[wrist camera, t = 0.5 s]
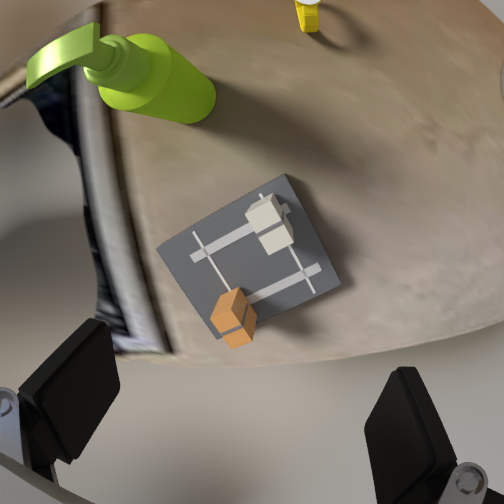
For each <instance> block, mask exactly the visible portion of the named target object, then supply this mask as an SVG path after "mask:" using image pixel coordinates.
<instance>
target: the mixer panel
mask: <svg viewBox="0 0 504 504" xmlns="http://www.w3.org/2000/svg"><path fill="white" fill-rule="evenodd" d="M271 193H274V195H275V197H276V199H277V200H278V202H279V204H280V206H281V208H282V209H283V211H284V213H285V215H286V217H287V218H288V220H289V222H290V224H291V226H292V228H293V238H294V243H292V244H290V245H288V246H286V247H284V248H282V249H280V250H278V251H276V252H274V253H272V254H270V255H268V254H267V252H266V250H265V249H264V247H263V245H262V243H261V242H260V240H259V238H258V237H257V236H256V235H255V234H256V233H255V231H254V230H253V228H252V226H251V224H250V223H249V221H248V219H247V218H246V216H245V213H246V212H247V210H248V209H249V207H250V206H251V204H253V203H255V202H257V201H259V200H260V199H262V198H264V197H266V196H268V195H270V194H271ZM156 250H157V252H158V253H159V255H160V256H161V258H162V260H163V261H164V263H165V264H166V266H167V267H168V269H169V271H170V272H171V274H172V275H173V277H174V278H175V280H176V281H177V283H178V284H179V286H180V287H181V289H182V290H183V292H184V293H185V295H186V296H187V298H188V299H189V301H190V302H191V304H192V305H193V306H194V308H195V309H196V311H197V312H198V314H199V315H200V317H201V318H202V319H203V321H204V322H205V324H206V325H207V326H208V328H209V329H210V331H211V332H212V333H213V335H214V336H215V338H216V339H220V338H222V336H221V335H220V332H219V331H218V330H217V328H216V327H215V325H214V324H213V323H212V321H211V320H210V317H211V315H212V313H213V311H214V308H215V306H216V304H217V302H218V300H219V298H220V295H223V294H225V293H227V292H229V291H231V290H233V289H235V288H237V287H240V289H241V291H242V292H243V294H244V295H245V297H246V299H247V300H248V302H249V303H250V305H251V306H252V308H253V310H254V311H255V313H256V314H257V320H256V323H258V322H261V321H263V320H265V319H268V318H270V317H272V316H275V315H277V314H279V313H281V312H284V311H286V310H288V309H290V308H293V307H295V306H297V305H299V304H301V303H304V302H306V301H308V300H310V299H312V298H314V297H316V296H319V295H321V294H323V293H325V292H327V291H329V290H331V289H333V288H335V287H337V286H340V285H342V284H341V282H340V279H339V277H338V275H337V273H336V270H335V268H334V266H333V264H332V262H331V260H330V258H329V256H328V254H327V252H326V250H325V248H324V246H323V244H322V242H321V240H320V238H319V236H318V235H317V233H316V231H315V229H314V227H313V225H312V223H311V221H310V219H309V217H308V215H307V213H306V212H305V210H304V208H303V206H302V204H301V202H300V200H299V199H298V197H297V195H296V193H295V191H294V189H293V188H292V186H291V184H290V182H289V180H288V179H287V177H286V175H285V173H284V174H282V175H280V176H279V177H277V178H275V179H273V180H271V181H269V182H267V183H266V184H264V185H262V186H260V187H258V188H257V189H255V190H253V191H251V192H249V193H248V194H246V195H244V196H242V197H240V198H239V199H237V200H235V201H233V202H232V203H230V204H228V205H226V206H225V207H223V208H221V209H219V210H218V211H216V212H214V213H212V214H211V215H209V216H207V217H206V218H204V219H202V220H201V221H199V222H197V223H195V224H194V225H192V226H190V227H189V228H187V229H185V230H184V231H182V232H180V233H179V234H177V235H175V236H174V237H172V238H170V239H169V240H167V241H166V242H164V243H162V244H161V245H160V246H158V247H157V248H156Z"/></svg>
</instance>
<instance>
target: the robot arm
mask: <svg viewBox="0 0 504 504" xmlns="http://www.w3.org/2000/svg"><path fill="white" fill-rule="evenodd" d="M501 82H502V90H503V96H504V65H503V68H502V75H501ZM119 390H120V381H119V376H118V372H117V366H116V361H115V355H114V349H113V343H112V337H111V331H110V328H108V327H107V325H106V323H105V322H103V321H99V320H96V319H93V318H89V319H87V320H86V321H85V322H84V323H83V324H82V325H81V326H80V327H79V328H78V329H77V330H76V331H75V332H74V333H73V334H72V335H71V336H69V338H68V339H66V340H65V341H64V342H63V343H62V344H61V345H60V346H59V347H58V348H57V349H56V350H55V351H54V352H53V353H52V354H51V355H50V356H49V357H48V358H47V359H46V360H45V361H44V362H43V363H42V364H41V365H40V366H39V368H38V369H37V370H36V371H35V372H34V373H33V374H32V375H31V376H30V377H29V378H28V379H27V380H26V381H25V382H24V383H23V384H22V385H21V386H20V387H19V393H18V394H17V395H16V394H15V392H14V391H12V390H11V389H8V388H4V387H0V504H95V503H92V502H90V501H88V500H86V499H84V498H82V497H79V496H78V495H76V494H74V493H72V492H70V491H68V490H66V489H64V488H62V487H60V486H59V483H58V479H57V475H56V471H55V466H54V462H55V461H56V459H57V458H58V459H60V460H61V461H63V462H65V463H67V464H69V465H70V464H71V462H72V461H73V459H77V458H78V457H79V456H80V455H81V453H82V451H83V450H84V448H85V446H86V445H87V443H88V441H89V440H90V438H91V436H92V435H93V433H94V431H95V430H96V428H97V426H98V425H99V423H100V422H101V420H102V418H103V417H104V415H105V414H106V412H107V411H108V409H109V407H110V406H111V404H112V403H113V401H114V399H115V398H116V396H117V395H118V393H119ZM364 433H365V437H366V443H367V447H368V453H369V458H370V463H371V469H372V474H373V480H374V486H375V492H376V499H377V504H504V495H502V494H500V493H498V492H496V491H493V490H492V489H489V488H488V487H487V486H488V478H487V475H486V472H485V471H484V470H483V469H482V467H481V466H479V465H477V464H475V463H472V462H464V463H461V464H459V465H457V462H456V460H457V458H456V455H455V452H454V450H453V447H452V445H451V443H450V440H449V438H448V435H447V433H446V431H445V429H444V426H443V424H442V421H441V419H440V417H439V415H438V412H437V410H436V408H435V406H434V404H433V402H432V399H431V397H430V395H429V393H428V391H427V389H426V387H425V385H424V383H423V381H422V379H421V377H420V375H419V373H418V371H417V369H416V368H415V367H398V368H397V369H396V371H393V372H392V373H391V374H390V377H389V379H388V381H387V383H386V385H385V387H384V389H383V391H382V393H381V395H380V397H379V399H378V401H377V403H376V405H375V406H374V408H373V410H372V412H371V414H370V416H369V417H368V419H367V421H366V423H365V427H364Z"/></svg>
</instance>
